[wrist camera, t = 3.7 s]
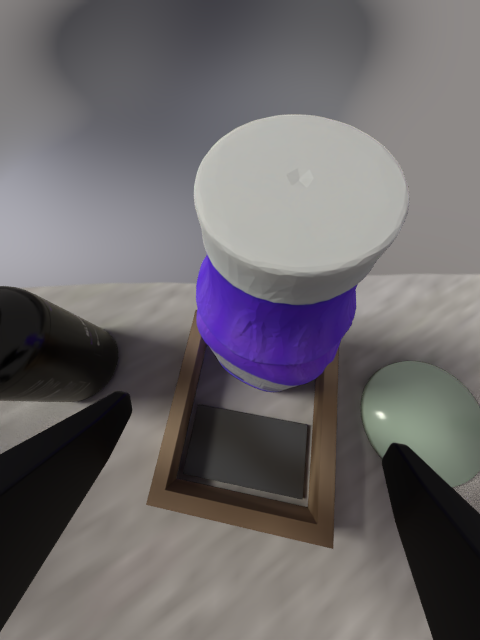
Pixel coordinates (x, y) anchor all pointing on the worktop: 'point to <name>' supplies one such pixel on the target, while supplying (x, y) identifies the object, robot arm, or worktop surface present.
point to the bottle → (290, 242)
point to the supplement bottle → (50, 351)
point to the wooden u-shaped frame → (249, 460)
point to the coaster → (424, 418)
